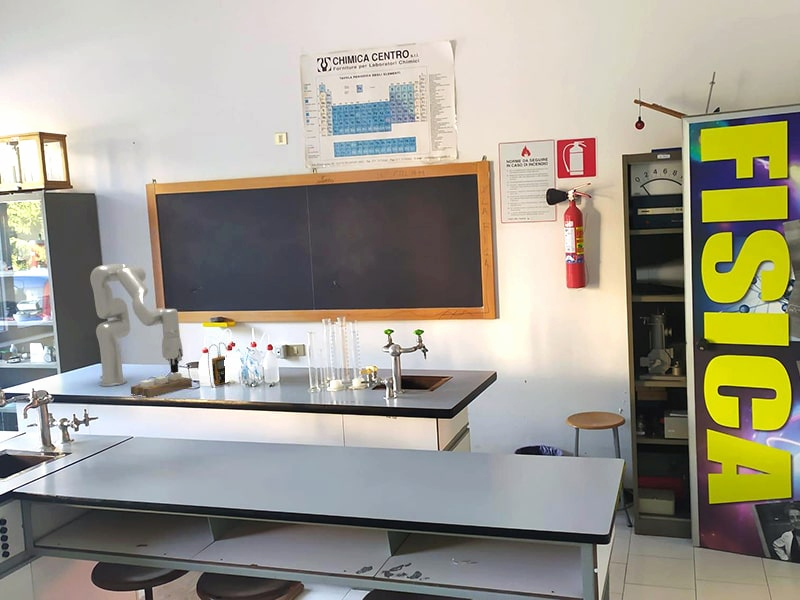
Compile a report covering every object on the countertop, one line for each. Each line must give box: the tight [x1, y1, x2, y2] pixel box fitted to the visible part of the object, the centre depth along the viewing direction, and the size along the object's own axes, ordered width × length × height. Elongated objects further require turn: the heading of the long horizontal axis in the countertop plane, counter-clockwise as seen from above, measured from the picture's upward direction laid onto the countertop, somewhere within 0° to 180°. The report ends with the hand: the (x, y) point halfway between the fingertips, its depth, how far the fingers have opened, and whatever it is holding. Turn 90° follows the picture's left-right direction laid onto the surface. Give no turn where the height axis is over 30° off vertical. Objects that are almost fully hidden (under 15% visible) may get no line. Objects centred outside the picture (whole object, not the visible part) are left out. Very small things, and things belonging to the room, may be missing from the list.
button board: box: [130, 376, 193, 398], centre depth 359 cm, size 14×24×4 cm, turn 145°
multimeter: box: [207, 342, 230, 388], centre depth 365 cm, size 15×10×20 cm
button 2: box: [167, 372, 183, 380], centre depth 366 cm, size 4×4×5 cm
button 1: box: [139, 379, 154, 388], centre depth 353 cm, size 4×4×5 cm
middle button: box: [153, 375, 168, 384], centre depth 359 cm, size 4×4×5 cm
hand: (174, 372), depth 365 cm, fingers closed
